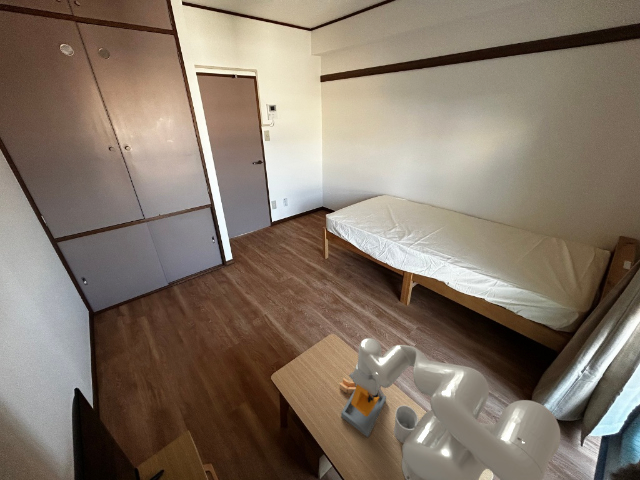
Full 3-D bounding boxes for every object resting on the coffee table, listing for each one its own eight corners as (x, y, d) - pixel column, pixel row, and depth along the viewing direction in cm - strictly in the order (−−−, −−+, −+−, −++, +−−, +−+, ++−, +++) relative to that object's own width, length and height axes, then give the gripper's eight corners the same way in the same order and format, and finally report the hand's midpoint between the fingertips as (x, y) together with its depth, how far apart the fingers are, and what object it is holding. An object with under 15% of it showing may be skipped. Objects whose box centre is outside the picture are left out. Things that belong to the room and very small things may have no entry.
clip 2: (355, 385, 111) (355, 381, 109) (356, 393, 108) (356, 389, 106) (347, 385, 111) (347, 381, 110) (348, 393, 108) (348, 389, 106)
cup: (388, 435, 94) (391, 419, 88) (396, 416, 100) (400, 400, 94) (409, 451, 90) (414, 435, 84) (416, 430, 95) (421, 414, 89)
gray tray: (385, 401, 105) (386, 396, 103) (368, 437, 94) (368, 433, 92) (360, 384, 111) (360, 380, 109) (341, 416, 100) (341, 412, 98)
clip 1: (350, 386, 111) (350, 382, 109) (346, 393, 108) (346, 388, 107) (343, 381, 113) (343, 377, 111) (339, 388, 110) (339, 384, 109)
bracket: (366, 418, 93) (369, 402, 87) (351, 405, 97) (352, 388, 91) (381, 396, 100) (384, 379, 94) (365, 384, 104) (368, 367, 98)
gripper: (394, 372, 87) (388, 400, 96) (352, 348, 96) (351, 375, 105) (385, 390, 82) (380, 418, 91) (342, 362, 90) (341, 390, 100)
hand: (364, 395), depth 98 cm, fingers closed on bracket, 4 cm apart
